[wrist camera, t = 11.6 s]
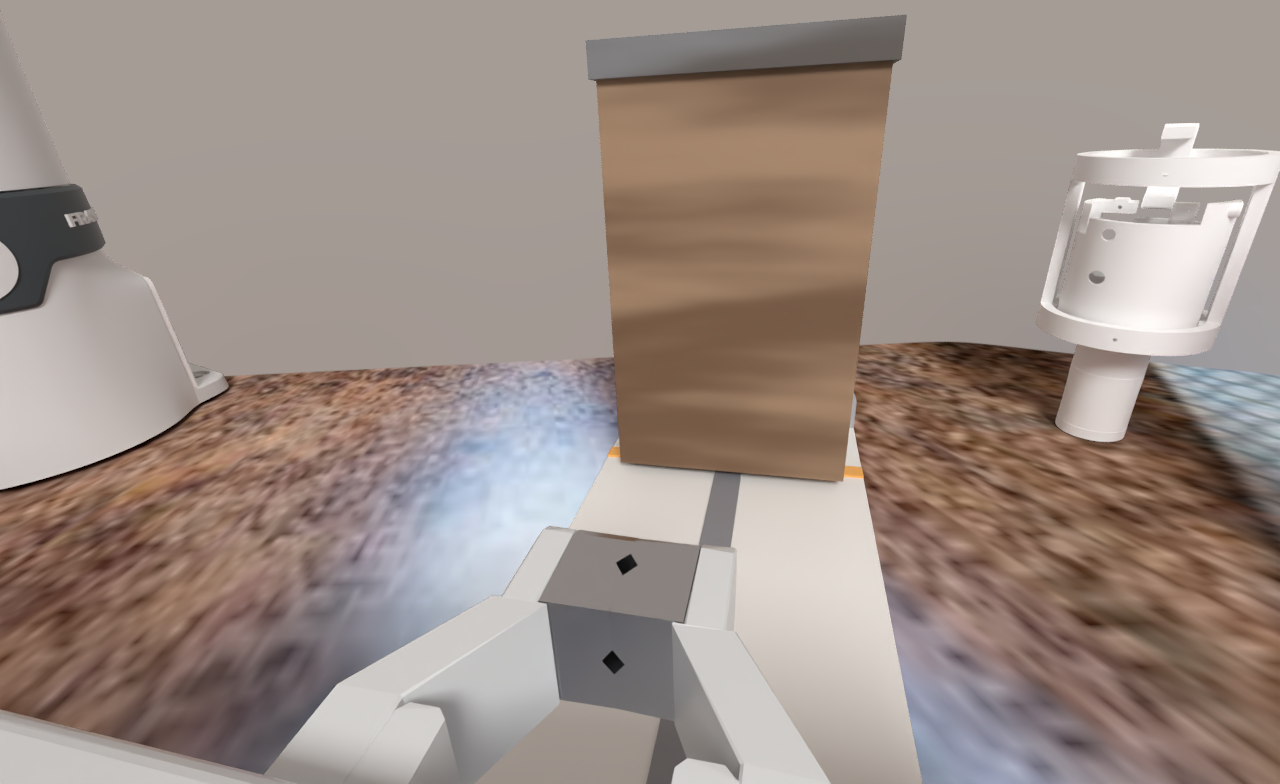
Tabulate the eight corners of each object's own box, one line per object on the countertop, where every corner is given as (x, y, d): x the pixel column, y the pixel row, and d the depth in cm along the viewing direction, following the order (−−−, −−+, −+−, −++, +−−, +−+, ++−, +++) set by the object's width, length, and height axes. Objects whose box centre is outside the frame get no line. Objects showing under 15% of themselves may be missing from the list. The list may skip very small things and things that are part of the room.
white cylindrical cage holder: (1176, 421, 32) (1288, 119, 26) (1171, 477, 27) (1308, 123, 21) (1026, 390, 36) (1093, 125, 30) (1000, 434, 32) (1073, 129, 26)
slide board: (957, 1044, 11) (985, 977, 10) (396, 886, 14) (371, 820, 13) (849, 435, 32) (854, 394, 31) (636, 420, 35) (634, 382, 34)
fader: (848, 485, 25) (906, 14, 18) (614, 465, 28) (585, 40, 21) (842, 444, 28) (890, 30, 21) (633, 429, 31) (613, 50, 24)
